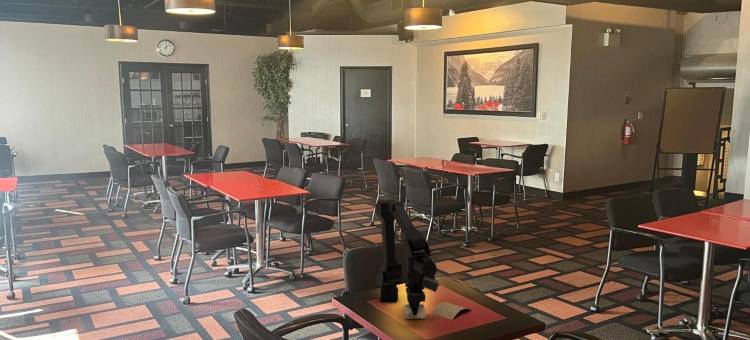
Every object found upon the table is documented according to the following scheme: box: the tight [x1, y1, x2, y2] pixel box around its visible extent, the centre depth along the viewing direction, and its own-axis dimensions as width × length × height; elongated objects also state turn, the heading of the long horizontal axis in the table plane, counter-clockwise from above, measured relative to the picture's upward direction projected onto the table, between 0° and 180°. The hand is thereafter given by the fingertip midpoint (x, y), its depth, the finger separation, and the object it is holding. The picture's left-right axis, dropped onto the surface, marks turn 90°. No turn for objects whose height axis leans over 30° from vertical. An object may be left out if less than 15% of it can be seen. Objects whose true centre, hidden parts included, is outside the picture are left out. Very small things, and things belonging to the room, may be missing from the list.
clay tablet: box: [431, 302, 471, 321], centre depth 216 cm, size 14×10×3 cm
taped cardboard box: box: [403, 303, 426, 320], centre depth 209 cm, size 7×5×4 cm
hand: (414, 312), depth 209 cm, fingers closed on taped cardboard box, 5 cm apart
